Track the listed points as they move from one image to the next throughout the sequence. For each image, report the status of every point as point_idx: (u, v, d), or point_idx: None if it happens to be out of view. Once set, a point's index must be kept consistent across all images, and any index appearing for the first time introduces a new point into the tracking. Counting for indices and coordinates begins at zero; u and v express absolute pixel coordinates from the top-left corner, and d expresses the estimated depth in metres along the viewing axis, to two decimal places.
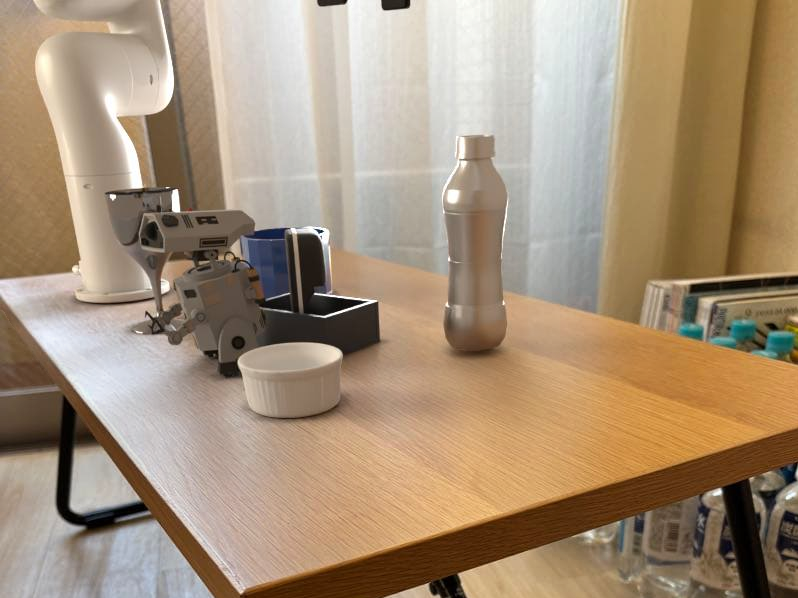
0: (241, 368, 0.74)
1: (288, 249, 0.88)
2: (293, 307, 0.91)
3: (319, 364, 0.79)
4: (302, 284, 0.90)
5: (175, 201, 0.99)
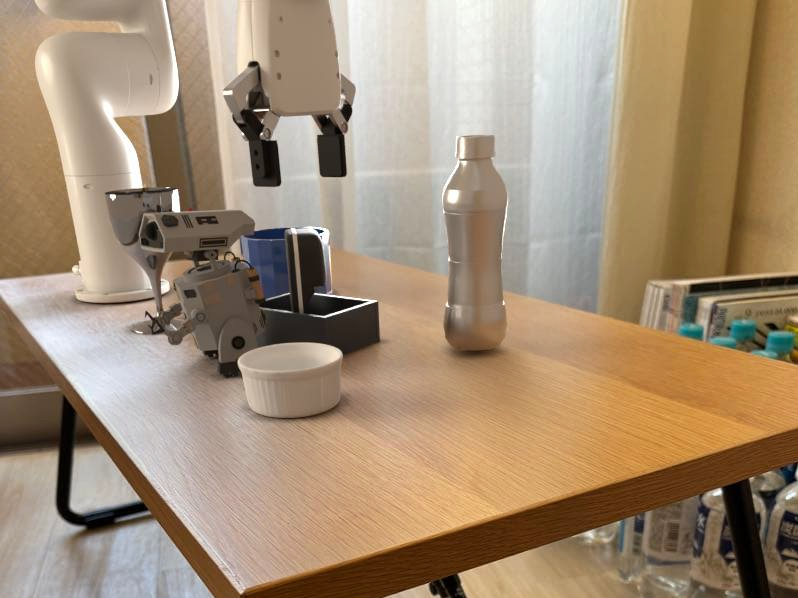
0: (241, 368, 0.74)
1: (288, 249, 0.88)
2: (293, 307, 0.91)
3: (319, 364, 0.79)
4: (302, 284, 0.90)
5: (175, 201, 0.99)
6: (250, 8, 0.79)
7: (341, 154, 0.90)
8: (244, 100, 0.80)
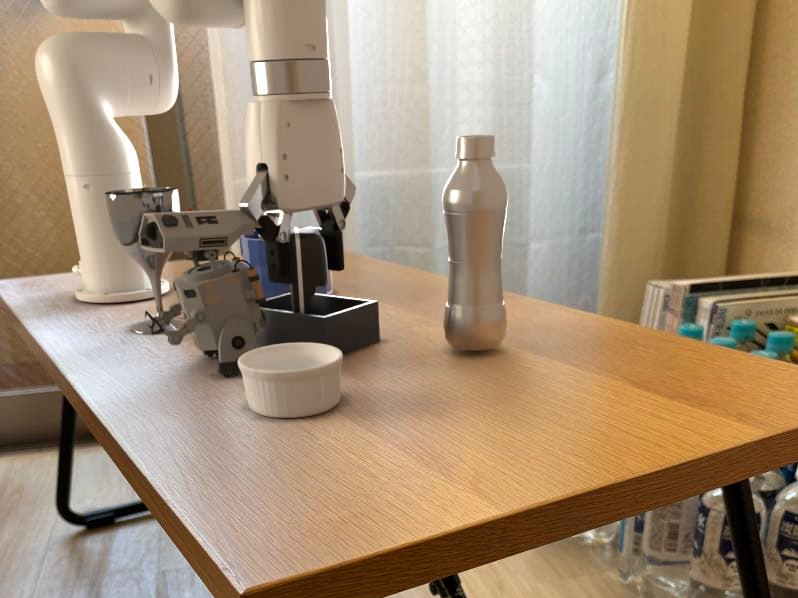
0: (241, 368, 0.74)
1: None
2: (294, 306, 0.91)
3: (319, 364, 0.79)
4: (303, 284, 0.90)
5: (175, 201, 0.99)
6: (259, 114, 0.83)
7: (339, 250, 0.94)
8: (259, 209, 0.84)
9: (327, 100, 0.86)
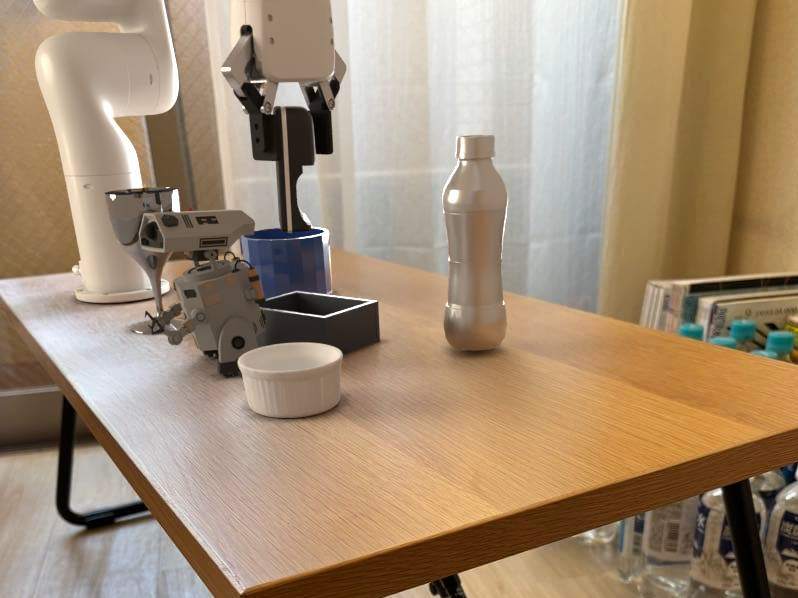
0: (241, 368, 0.74)
1: None
2: (279, 187, 0.86)
3: (319, 364, 0.79)
4: (289, 162, 0.85)
5: (175, 201, 0.99)
6: None
7: (327, 131, 0.89)
8: (243, 74, 0.80)
9: None
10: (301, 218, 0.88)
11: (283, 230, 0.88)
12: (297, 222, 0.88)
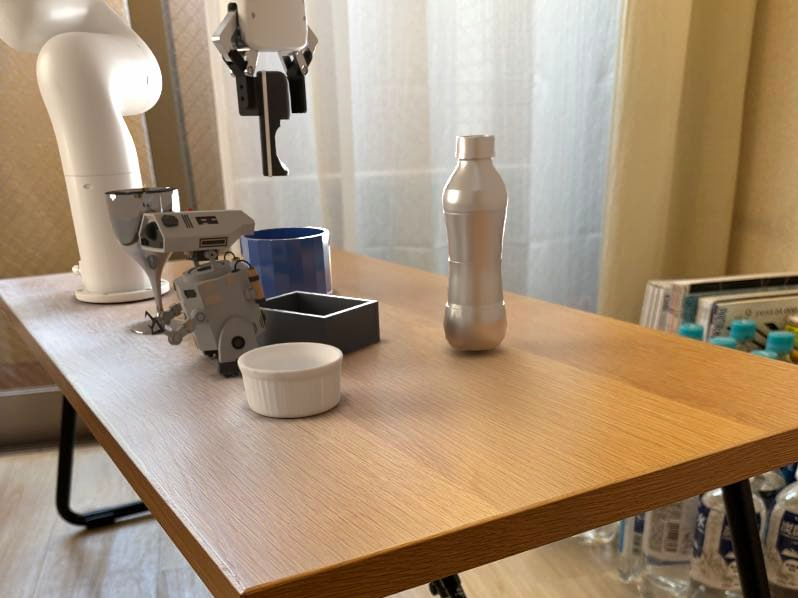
0: (241, 368, 0.74)
1: None
2: (261, 138, 1.04)
3: (319, 364, 0.79)
4: (269, 117, 1.03)
5: (175, 201, 0.99)
6: None
7: (302, 93, 1.07)
8: (230, 42, 0.98)
9: None
10: (279, 164, 1.06)
11: (264, 174, 1.06)
12: (276, 168, 1.06)
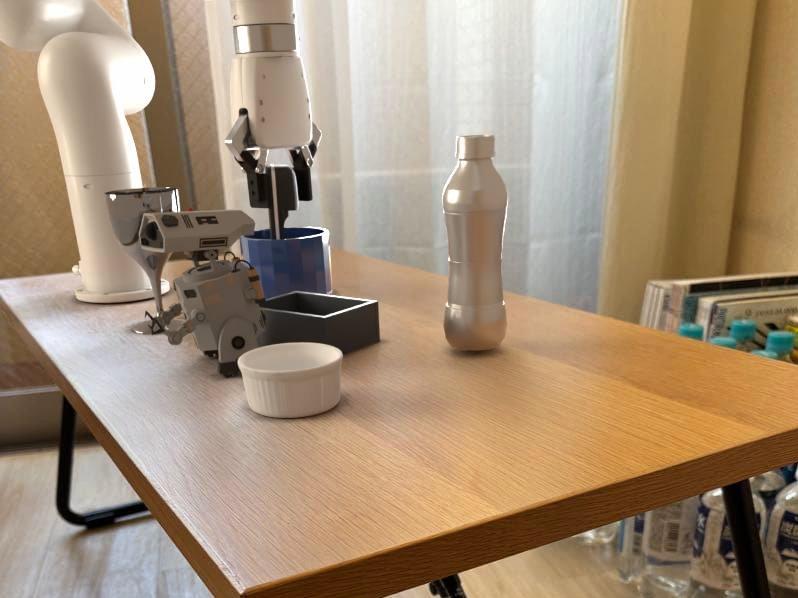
0: (241, 368, 0.74)
1: None
2: (271, 227, 1.12)
3: (319, 364, 0.79)
4: (278, 208, 1.11)
5: (175, 201, 0.99)
6: (241, 68, 1.04)
7: (308, 183, 1.15)
8: (241, 145, 1.06)
9: (295, 58, 1.07)
10: None
11: None
12: None
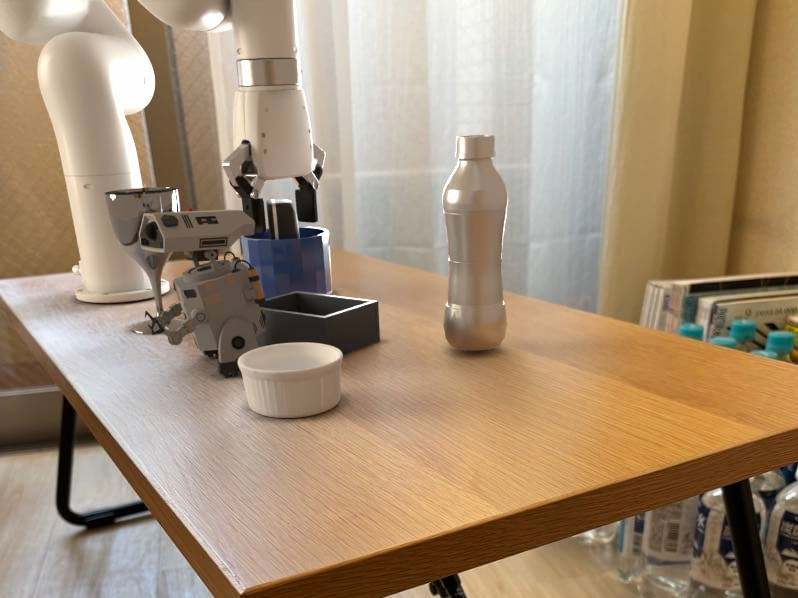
0: (241, 368, 0.74)
1: (268, 215, 1.11)
2: None
3: (319, 364, 0.79)
4: None
5: (175, 201, 0.99)
6: (244, 101, 1.05)
7: (313, 205, 1.17)
8: (238, 169, 1.06)
9: (298, 91, 1.08)
10: None
11: None
12: None
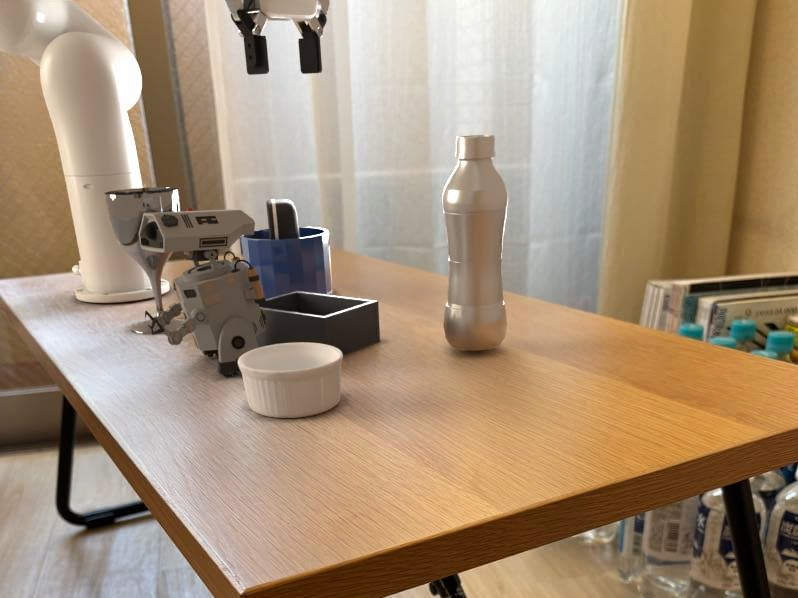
0: (241, 368, 0.74)
1: (268, 215, 1.11)
2: None
3: (319, 364, 0.79)
4: None
5: (175, 201, 0.99)
6: None
7: (317, 53, 1.13)
8: (240, 1, 1.03)
9: None
10: None
11: None
12: None
